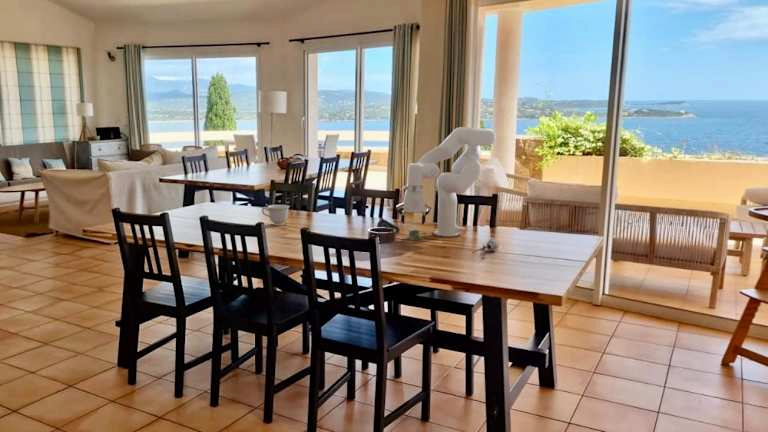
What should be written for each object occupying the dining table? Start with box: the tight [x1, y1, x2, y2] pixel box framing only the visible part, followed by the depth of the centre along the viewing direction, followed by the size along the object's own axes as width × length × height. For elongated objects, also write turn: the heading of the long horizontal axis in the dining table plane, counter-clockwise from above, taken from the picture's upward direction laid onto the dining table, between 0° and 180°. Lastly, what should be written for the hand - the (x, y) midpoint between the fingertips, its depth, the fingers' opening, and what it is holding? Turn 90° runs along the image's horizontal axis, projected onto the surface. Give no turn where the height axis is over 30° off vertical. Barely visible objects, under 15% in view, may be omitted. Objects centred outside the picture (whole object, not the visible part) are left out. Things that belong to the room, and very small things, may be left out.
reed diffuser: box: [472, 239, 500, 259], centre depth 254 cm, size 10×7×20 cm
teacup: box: [261, 204, 290, 226], centre depth 314 cm, size 12×15×10 cm
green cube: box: [408, 228, 420, 241], centre depth 284 cm, size 4×4×4 cm
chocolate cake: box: [376, 217, 401, 234], centre depth 300 cm, size 10×7×12 cm
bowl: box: [367, 227, 397, 244], centre depth 279 cm, size 13×13×5 cm
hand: (412, 223), depth 283 cm, fingers open, 9 cm apart
